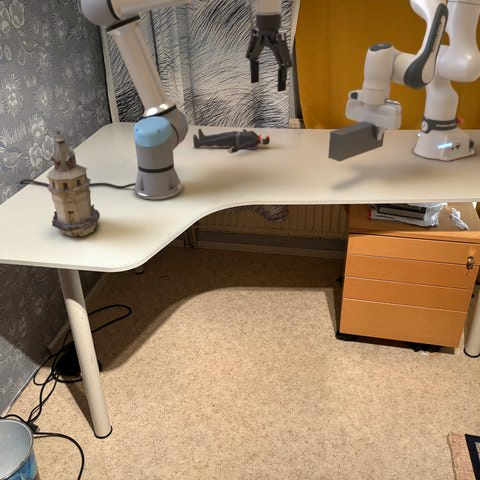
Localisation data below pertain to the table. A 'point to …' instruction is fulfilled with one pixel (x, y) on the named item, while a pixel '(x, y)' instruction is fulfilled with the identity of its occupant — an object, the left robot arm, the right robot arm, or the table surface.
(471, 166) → the table surface
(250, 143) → the toy
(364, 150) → the bar
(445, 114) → the right robot arm
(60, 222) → the miniature building
